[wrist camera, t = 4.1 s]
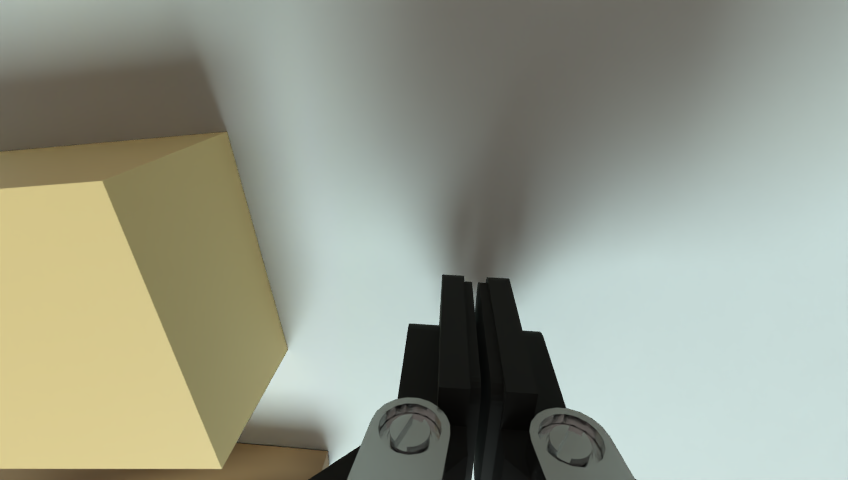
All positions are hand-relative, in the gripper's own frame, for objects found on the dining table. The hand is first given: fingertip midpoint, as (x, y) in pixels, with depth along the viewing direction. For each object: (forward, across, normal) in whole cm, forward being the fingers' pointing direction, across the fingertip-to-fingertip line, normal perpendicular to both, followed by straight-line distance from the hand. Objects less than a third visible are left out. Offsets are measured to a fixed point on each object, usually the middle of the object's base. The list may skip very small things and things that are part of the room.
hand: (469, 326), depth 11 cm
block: (+2, +10, 0) cm, 10 cm away
